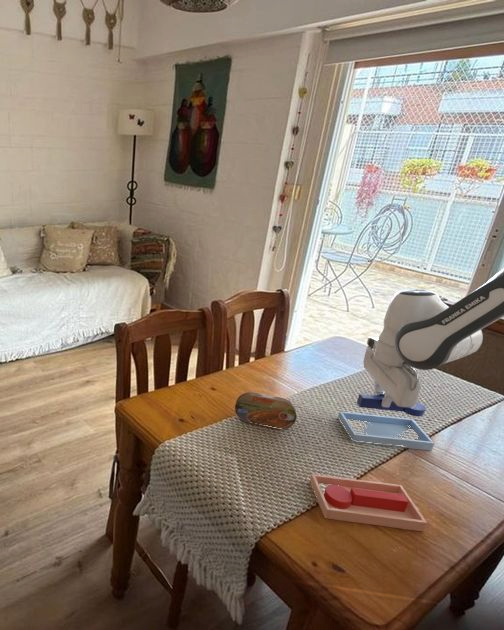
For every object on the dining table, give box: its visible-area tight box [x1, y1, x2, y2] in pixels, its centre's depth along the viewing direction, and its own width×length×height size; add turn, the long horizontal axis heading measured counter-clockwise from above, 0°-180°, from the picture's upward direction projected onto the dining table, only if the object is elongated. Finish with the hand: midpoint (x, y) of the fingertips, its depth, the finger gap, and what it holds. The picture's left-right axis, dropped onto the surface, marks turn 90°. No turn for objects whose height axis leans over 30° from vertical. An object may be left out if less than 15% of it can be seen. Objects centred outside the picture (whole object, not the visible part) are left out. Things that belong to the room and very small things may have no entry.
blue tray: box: [337, 411, 435, 452], centre depth 114 cm, size 18×10×2 cm, turn 80°
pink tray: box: [309, 473, 428, 532], centre depth 91 cm, size 18×10×2 cm, turn 80°
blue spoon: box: [356, 393, 427, 417], centre depth 111 cm, size 15×5×3 cm, turn 80°
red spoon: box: [324, 485, 408, 512], centre depth 91 cm, size 15×5×3 cm, turn 80°
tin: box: [234, 391, 298, 430], centre depth 116 cm, size 15×3×8 cm, turn 68°
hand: (381, 402), depth 111 cm, fingers closed on blue spoon, 2 cm apart
